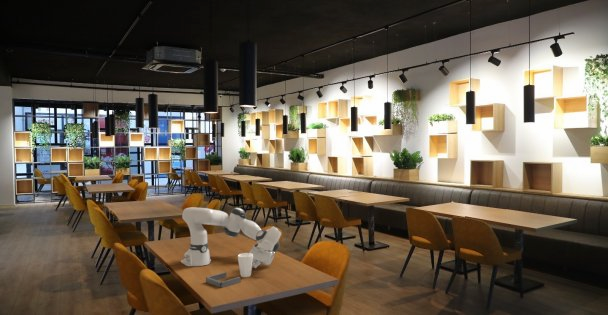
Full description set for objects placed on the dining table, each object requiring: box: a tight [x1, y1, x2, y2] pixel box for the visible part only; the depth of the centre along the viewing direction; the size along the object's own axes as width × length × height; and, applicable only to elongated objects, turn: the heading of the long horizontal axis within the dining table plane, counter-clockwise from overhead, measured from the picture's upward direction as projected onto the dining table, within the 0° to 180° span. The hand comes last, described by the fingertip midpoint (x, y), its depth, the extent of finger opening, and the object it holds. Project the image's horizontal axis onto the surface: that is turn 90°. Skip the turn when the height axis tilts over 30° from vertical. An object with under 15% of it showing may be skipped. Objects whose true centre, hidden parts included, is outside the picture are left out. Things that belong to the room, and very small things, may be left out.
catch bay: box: [205, 271, 241, 289], centre depth 247 cm, size 15×14×3 cm
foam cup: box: [237, 252, 253, 278], centre depth 259 cm, size 10×9×13 cm
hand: (253, 267), depth 263 cm, fingers closed
